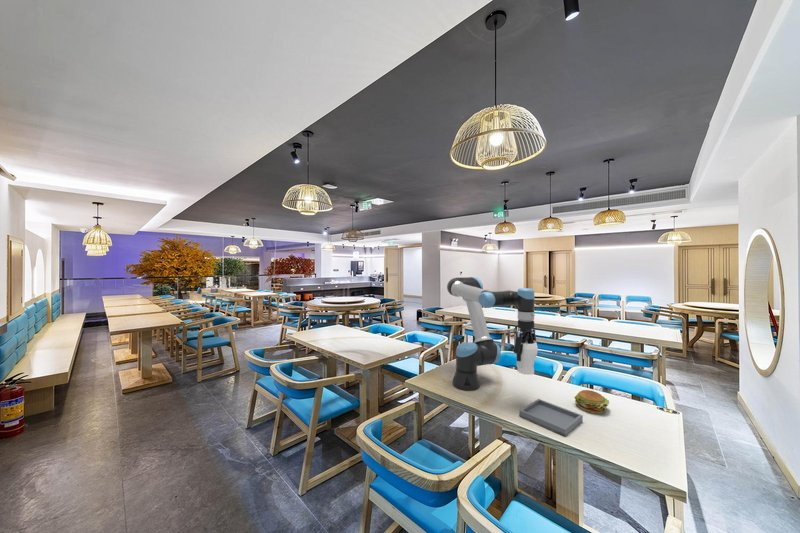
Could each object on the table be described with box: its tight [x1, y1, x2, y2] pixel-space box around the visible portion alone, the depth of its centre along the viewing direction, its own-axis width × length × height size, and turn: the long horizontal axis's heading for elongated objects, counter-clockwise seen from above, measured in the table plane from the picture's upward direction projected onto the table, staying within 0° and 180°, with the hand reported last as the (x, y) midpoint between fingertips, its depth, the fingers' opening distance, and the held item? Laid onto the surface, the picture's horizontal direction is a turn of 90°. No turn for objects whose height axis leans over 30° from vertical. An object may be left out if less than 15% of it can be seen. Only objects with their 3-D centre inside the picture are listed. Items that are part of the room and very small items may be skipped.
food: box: [573, 389, 610, 414], centre depth 146 cm, size 14×14×8 cm
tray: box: [518, 398, 584, 437], centre depth 136 cm, size 20×18×3 cm
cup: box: [513, 341, 539, 376], centre depth 147 cm, size 11×11×15 cm
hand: (525, 365), depth 147 cm, fingers closed on cup, 10 cm apart
